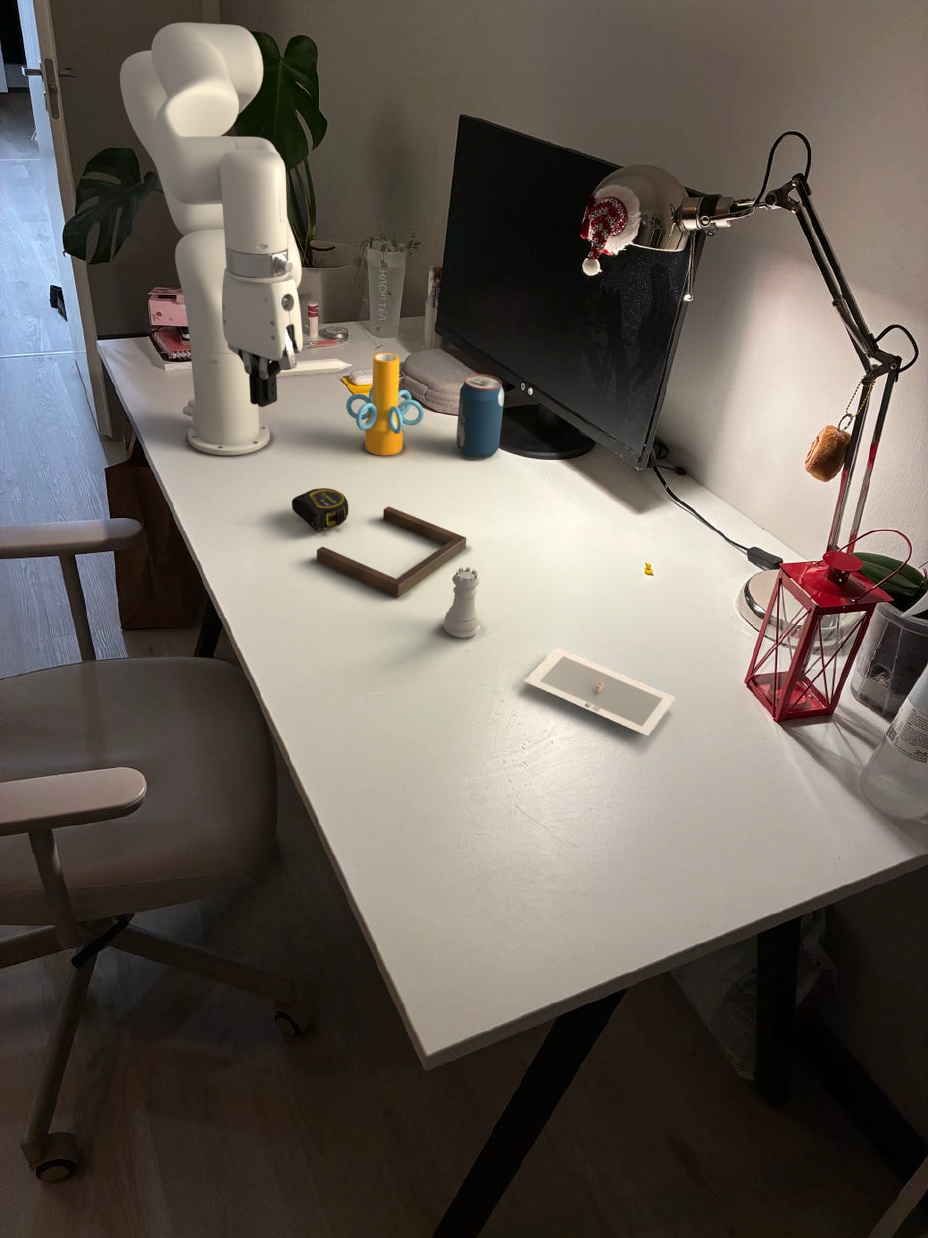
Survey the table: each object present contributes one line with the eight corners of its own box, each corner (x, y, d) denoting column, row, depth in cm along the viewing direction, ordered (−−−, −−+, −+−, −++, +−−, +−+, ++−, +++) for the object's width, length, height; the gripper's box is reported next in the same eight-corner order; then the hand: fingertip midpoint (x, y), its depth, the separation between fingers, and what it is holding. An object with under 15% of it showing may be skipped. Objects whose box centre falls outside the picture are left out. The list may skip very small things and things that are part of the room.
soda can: (506, 451, 157) (513, 380, 150) (483, 465, 152) (490, 393, 145) (470, 438, 160) (476, 368, 153) (447, 452, 155) (452, 381, 148)
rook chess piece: (485, 623, 118) (491, 568, 113) (473, 643, 114) (479, 587, 109) (450, 614, 119) (455, 559, 114) (437, 634, 115) (442, 577, 110)
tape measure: (290, 516, 135) (289, 492, 133) (333, 505, 138) (333, 482, 136) (312, 538, 131) (311, 514, 128) (357, 527, 134) (357, 503, 132)
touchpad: (555, 654, 114) (557, 639, 112) (674, 705, 108) (677, 690, 106) (522, 688, 108) (524, 673, 107) (646, 743, 102) (649, 728, 101)
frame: (316, 561, 126) (316, 549, 125) (388, 517, 137) (388, 506, 136) (397, 598, 121) (398, 586, 120) (465, 548, 131) (466, 537, 130)
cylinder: (425, 438, 159) (430, 349, 150) (416, 466, 150) (421, 374, 142) (352, 430, 159) (353, 341, 151) (339, 457, 151) (339, 364, 142)
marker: (353, 373, 181) (268, 379, 175) (350, 364, 182) (265, 370, 176) (355, 364, 179) (269, 370, 173) (352, 355, 180) (267, 360, 174)
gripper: (324, 269, 118) (325, 410, 129) (234, 243, 124) (242, 379, 135) (282, 281, 113) (287, 427, 123) (190, 253, 119) (202, 395, 130)
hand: (264, 402), depth 129 cm, fingers closed
